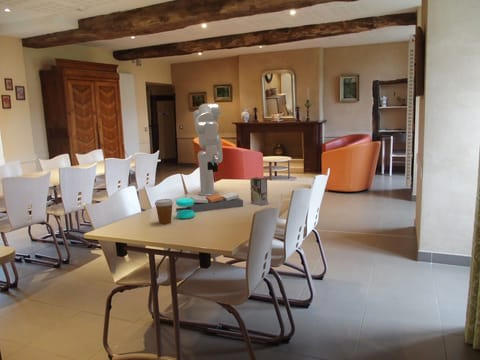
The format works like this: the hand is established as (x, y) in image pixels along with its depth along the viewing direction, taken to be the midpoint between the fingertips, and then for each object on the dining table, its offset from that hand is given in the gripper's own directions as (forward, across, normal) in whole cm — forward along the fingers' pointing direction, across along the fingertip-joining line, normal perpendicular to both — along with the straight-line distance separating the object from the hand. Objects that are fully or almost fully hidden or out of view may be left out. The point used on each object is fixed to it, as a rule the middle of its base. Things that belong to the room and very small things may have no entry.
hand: (212, 170), depth 244 cm
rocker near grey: (+18, +2, -10) cm, 20 cm away
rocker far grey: (+18, +2, +10) cm, 20 cm away
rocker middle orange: (+18, +2, 0) cm, 18 cm away
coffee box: (+22, +6, +28) cm, 36 cm away
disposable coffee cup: (+22, +24, -35) cm, 48 cm away
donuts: (+22, +17, -22) cm, 36 cm away
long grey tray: (+22, +2, -4) cm, 23 cm away
